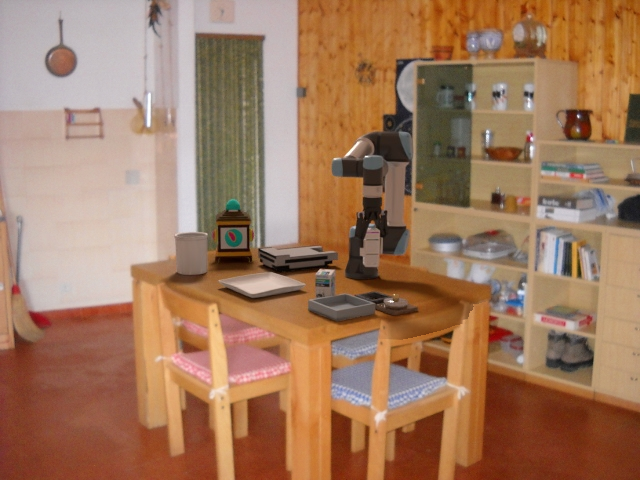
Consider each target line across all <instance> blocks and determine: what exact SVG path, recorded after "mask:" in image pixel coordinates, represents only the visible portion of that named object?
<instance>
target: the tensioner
mask: <svg viewBox="0 0 640 480" xmlns="http://www.w3.org/2000/svg"><path fill="white" fill-rule="evenodd" d="M353 296H355V297H358V298H361V299H364V300H367V301H370V302H373V303H375V310H376V309H377V310H376V311H379V310H380V311H379V312H382V311H383V312H382V313H385V314H388V315H391V316H393V317H394V316H400V315H405V314H409V313H415V312H418V311H419V306H415V305H414V304H413V305H412V304H410V303H409V301H408V300H407V298H401V297H400V294H398V293H393V294H392V295H389V294H386V293H383V292H380V291H377V290H374V291H368V292H364V293H358V294H354V295H353ZM373 298H377V299H373Z"/></svg>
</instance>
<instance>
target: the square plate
mask: <svg viewBox="0 0 640 480" xmlns="http://www.w3.org/2000/svg"><path fill="white" fill-rule="evenodd" d="M217 282H219V284H220V285H222V287H225V288H228V289H230V290H232V291H234V292H237V293H239V294H241V295H244V296H246V297H249V298H251V299H257V298H264V297H269V296H274V295H275V296H276V295H281V294H287V293H291V292H296V291H299V290H302V289H303V288H304V287H305V286H307V284H306V283H304V282H302V281H299V280H297V279H294V278H291V277H289V276H285V275H281V274H278V273H275V272H272V271H268V272H260V273H258V272H257V273H251V274H245V275H239V276H233V277H229V278H223V279H219V280H217Z"/></svg>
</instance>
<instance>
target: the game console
mask: <svg viewBox="0 0 640 480" xmlns="http://www.w3.org/2000/svg"><path fill="white" fill-rule="evenodd" d="M257 255H258V256H257V257H258V259H259V262H260V263H261V264H263V266H266V267H268V268H272V269H274V271H276V272H278V273H289V272H297V271H306V270H307V271H308V270H316V269H317V270H318V269H326V268H329V265H332V264H333V261H338V260H339V252H337V251H334V250H329V251H325V250H324V249H323V246H320V245H318V244H317V245H307V246H305V245H304V246H297V247H294V246H293V247H287V248H285V247H284V248H274V247H272V246H271V247H270V246H269V247H258V249H257Z"/></svg>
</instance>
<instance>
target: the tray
mask: <svg viewBox="0 0 640 480" xmlns="http://www.w3.org/2000/svg"><path fill="white" fill-rule="evenodd" d="M307 310H308V311H309V312H311V313H315V314H316V315H319V316H321V315H322V316H321V317H324V318H326V317H327V318H326V319H329V320H331V319H332V321H334V322H342V321H346V319H347V320H350V318H352V319H356V318H355V317H357V318H361V317H360V316H362V317H366V316H372V315H376V309H375V303H373V302H370V301H367V300H364V299H361V298H358V297H355V296H354V295H352V294H350V293H340V294H335V295H333V296H328V297H322V298H316V299H315V298H311V299H308V300H307Z"/></svg>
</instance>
